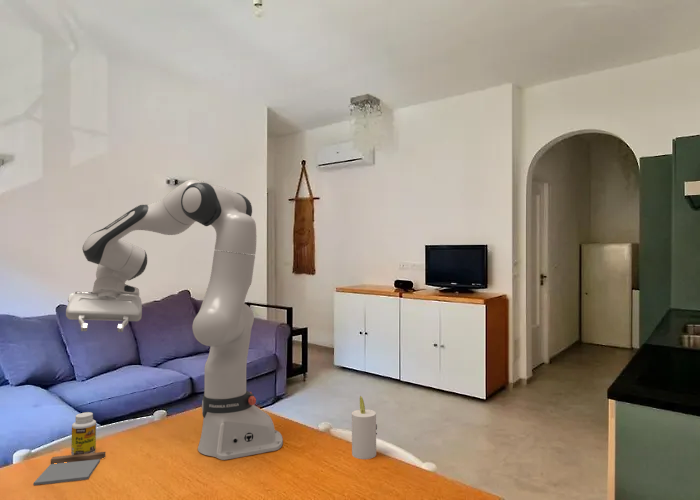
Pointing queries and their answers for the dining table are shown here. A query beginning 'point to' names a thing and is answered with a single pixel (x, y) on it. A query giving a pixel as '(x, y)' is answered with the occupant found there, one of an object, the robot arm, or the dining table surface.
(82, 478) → the felt tile
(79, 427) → the supplement bottle
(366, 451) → the candle
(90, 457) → the strip
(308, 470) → the dining table surface
